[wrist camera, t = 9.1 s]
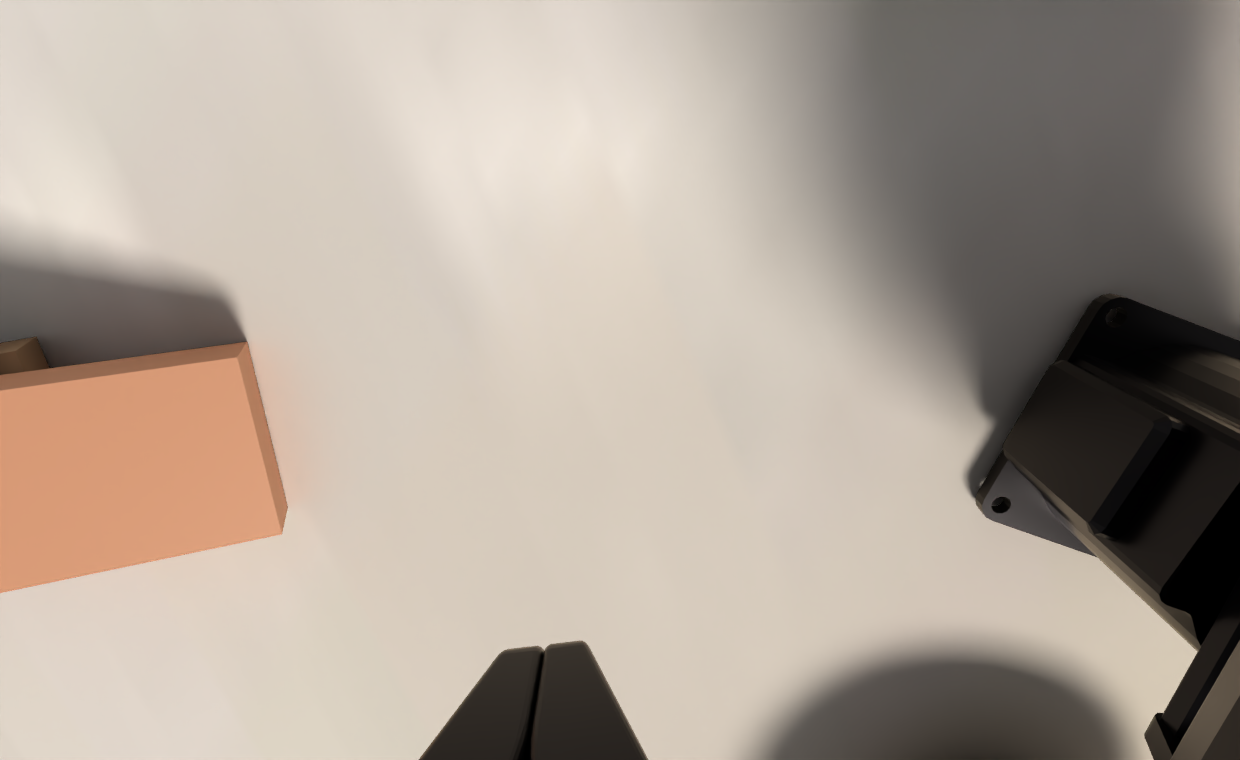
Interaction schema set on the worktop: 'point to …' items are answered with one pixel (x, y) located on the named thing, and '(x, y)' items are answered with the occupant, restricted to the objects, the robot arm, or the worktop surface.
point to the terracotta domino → (132, 463)
